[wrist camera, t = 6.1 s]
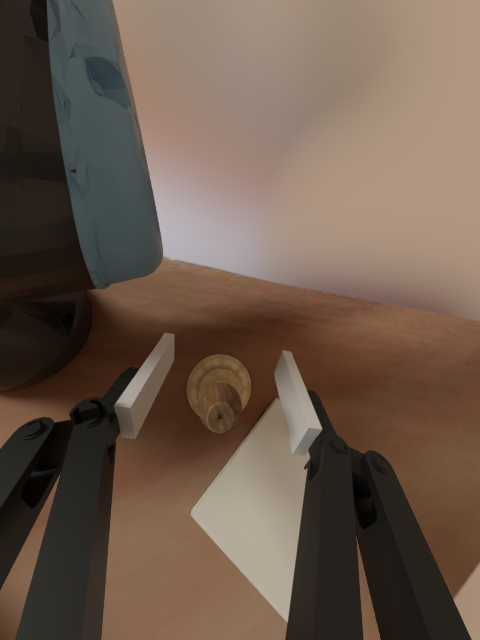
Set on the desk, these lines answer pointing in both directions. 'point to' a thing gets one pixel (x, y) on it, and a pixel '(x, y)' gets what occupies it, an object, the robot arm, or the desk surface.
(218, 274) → the desk surface
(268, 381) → the desk surface
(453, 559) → the desk surface
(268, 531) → the mat
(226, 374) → the hand bell
